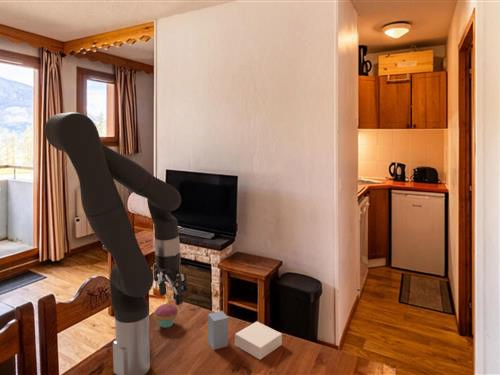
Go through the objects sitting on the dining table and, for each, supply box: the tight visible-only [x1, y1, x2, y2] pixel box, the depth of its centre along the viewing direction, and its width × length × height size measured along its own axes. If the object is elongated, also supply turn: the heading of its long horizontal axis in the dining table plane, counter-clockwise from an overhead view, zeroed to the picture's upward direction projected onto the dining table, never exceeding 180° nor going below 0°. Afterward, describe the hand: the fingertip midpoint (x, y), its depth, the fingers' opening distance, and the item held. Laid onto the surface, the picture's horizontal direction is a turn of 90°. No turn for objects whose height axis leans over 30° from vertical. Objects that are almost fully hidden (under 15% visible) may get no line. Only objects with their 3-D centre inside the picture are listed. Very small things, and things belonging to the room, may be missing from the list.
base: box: [234, 321, 283, 361], centre depth 116 cm, size 11×11×4 cm
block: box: [207, 310, 229, 351], centre depth 116 cm, size 5×5×10 cm
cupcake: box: [153, 291, 179, 329], centre depth 126 cm, size 9×8×12 cm
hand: (171, 299), depth 110 cm, fingers open, 8 cm apart
